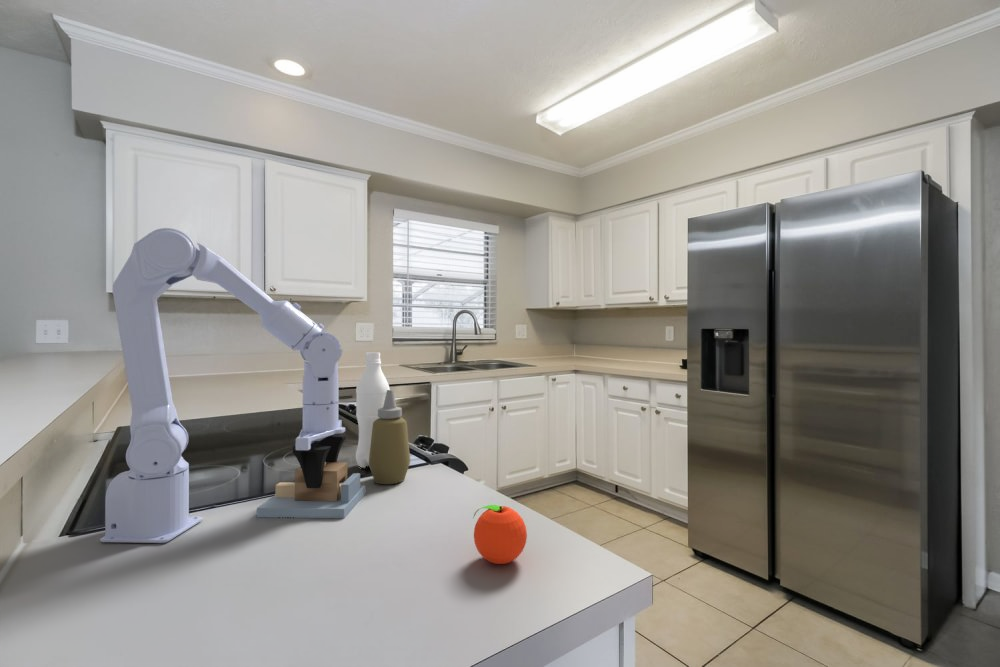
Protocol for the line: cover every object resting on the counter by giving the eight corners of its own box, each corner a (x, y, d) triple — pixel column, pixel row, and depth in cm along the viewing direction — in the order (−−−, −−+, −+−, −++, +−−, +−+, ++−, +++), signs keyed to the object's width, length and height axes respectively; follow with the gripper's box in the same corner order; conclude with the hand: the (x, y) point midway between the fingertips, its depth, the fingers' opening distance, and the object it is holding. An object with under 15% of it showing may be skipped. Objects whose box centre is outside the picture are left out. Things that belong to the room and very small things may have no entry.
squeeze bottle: (418, 478, 93) (419, 389, 92) (389, 490, 86) (389, 394, 86) (390, 471, 97) (390, 386, 97) (359, 482, 90) (360, 390, 90)
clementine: (456, 561, 59) (456, 507, 59) (487, 541, 65) (487, 491, 65) (507, 581, 55) (508, 521, 55) (536, 557, 61) (536, 503, 61)
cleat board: (256, 517, 73) (256, 489, 73) (289, 492, 84) (289, 468, 84) (344, 518, 73) (344, 489, 73) (365, 493, 84) (365, 469, 84)
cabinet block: (294, 500, 76) (295, 466, 76) (307, 490, 81) (308, 457, 81) (336, 501, 76) (337, 466, 76) (347, 490, 81) (347, 458, 81)
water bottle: (349, 470, 97) (349, 353, 97) (364, 461, 105) (365, 351, 104) (381, 472, 96) (381, 353, 96) (394, 463, 103) (395, 352, 103)
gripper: (327, 409, 71) (327, 497, 71) (357, 396, 86) (357, 469, 86) (282, 409, 71) (282, 497, 71) (320, 396, 86) (319, 468, 86)
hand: (320, 481), depth 78 cm, fingers closed on cabinet block, 5 cm apart
